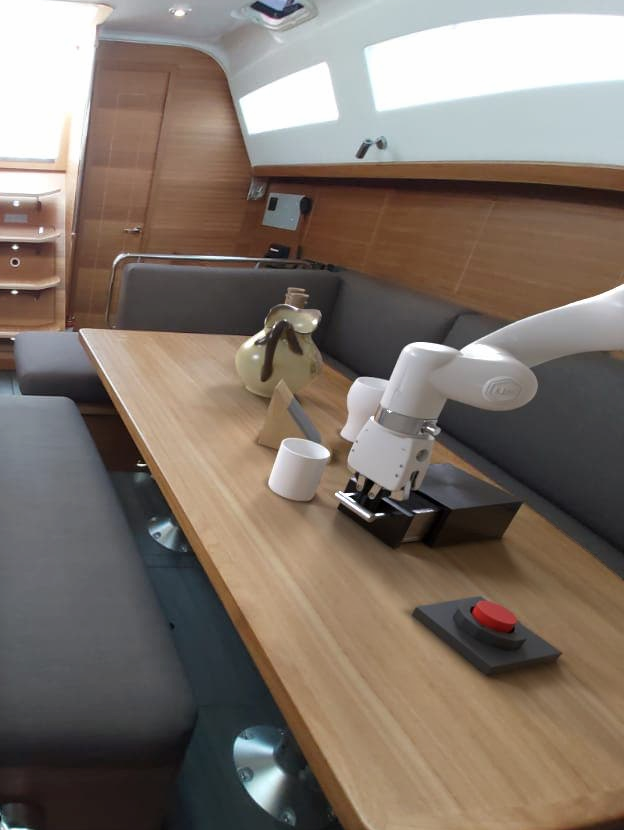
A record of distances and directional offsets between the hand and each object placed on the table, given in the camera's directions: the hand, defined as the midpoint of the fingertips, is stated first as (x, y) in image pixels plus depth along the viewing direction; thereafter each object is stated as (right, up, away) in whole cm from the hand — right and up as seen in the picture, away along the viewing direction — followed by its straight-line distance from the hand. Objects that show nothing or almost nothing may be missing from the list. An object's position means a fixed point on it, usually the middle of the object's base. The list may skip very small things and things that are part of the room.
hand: (362, 512), depth 88 cm
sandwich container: (+7, +9, +30) cm, 32 cm away
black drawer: (+6, -3, +3) cm, 8 cm away
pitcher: (+19, +24, +62) cm, 69 cm away
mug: (-4, +2, +15) cm, 16 cm away
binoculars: (+37, +36, +89) cm, 103 cm away
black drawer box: (+17, -3, +5) cm, 18 cm away
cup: (+26, +11, +36) cm, 46 cm away
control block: (+2, -14, -19) cm, 24 cm away
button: (+2, -11, -20) cm, 23 cm away
